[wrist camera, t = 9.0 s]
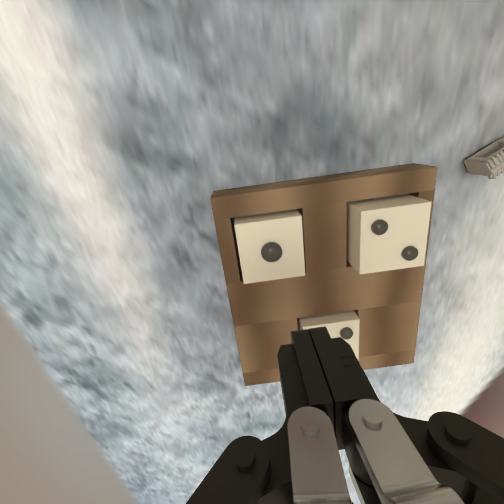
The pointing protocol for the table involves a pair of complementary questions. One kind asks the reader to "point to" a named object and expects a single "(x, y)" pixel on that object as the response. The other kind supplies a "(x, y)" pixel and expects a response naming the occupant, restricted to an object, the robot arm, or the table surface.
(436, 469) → the robot arm
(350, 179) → the key panel
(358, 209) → the key two dots
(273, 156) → the table surface
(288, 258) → the key one dot
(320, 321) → the key three dots
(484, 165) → the lattice window wall
